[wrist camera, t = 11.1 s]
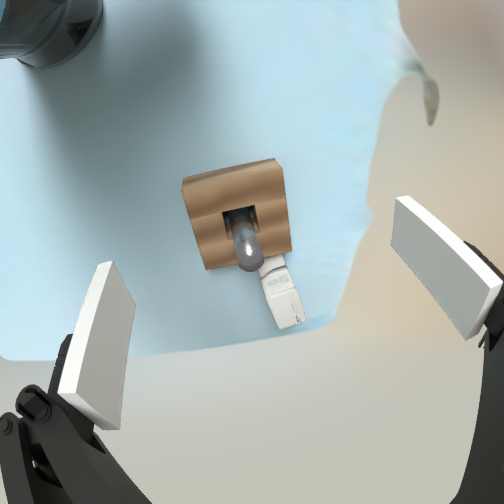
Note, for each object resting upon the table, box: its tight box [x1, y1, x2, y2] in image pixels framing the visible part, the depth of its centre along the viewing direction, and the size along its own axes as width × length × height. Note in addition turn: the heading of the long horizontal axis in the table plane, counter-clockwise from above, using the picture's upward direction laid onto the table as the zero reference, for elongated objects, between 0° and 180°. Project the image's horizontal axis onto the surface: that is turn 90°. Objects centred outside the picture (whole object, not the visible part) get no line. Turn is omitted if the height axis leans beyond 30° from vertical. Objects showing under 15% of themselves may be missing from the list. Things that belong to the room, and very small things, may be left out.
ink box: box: [258, 253, 306, 330], centre depth 51 cm, size 9×5×12 cm, turn 20°
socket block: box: [181, 158, 292, 270], centre depth 46 cm, size 14×14×5 cm
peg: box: [228, 207, 264, 272], centre depth 42 cm, size 3×3×14 cm
